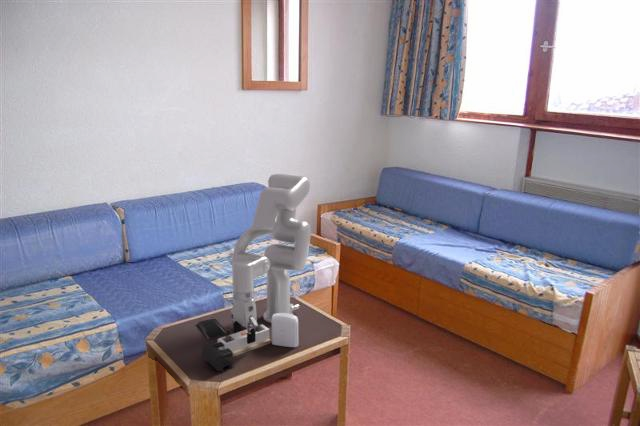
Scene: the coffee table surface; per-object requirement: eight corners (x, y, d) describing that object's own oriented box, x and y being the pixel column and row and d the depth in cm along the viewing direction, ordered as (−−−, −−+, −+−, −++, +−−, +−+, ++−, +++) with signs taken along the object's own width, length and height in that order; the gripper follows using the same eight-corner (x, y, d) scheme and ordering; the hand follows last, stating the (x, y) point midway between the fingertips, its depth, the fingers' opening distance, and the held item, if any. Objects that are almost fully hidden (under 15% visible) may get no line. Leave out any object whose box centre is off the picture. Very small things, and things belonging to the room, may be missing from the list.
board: (260, 335, 193) (260, 321, 192) (271, 342, 188) (271, 327, 187) (216, 351, 181) (216, 335, 180) (226, 359, 176) (225, 343, 175)
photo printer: (269, 345, 186) (269, 314, 183) (273, 339, 190) (273, 309, 187) (296, 349, 184) (296, 318, 181) (299, 343, 188) (300, 313, 185)
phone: (215, 318, 205) (228, 333, 193) (215, 320, 206) (228, 336, 193) (196, 322, 202) (208, 338, 189) (196, 324, 202) (208, 340, 189)
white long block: (262, 333, 192) (262, 323, 191) (269, 338, 189) (269, 327, 188) (217, 349, 180) (217, 337, 179) (224, 354, 177) (224, 343, 176)
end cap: (201, 362, 174) (200, 345, 172) (219, 356, 178) (219, 339, 177) (215, 375, 166) (214, 357, 165) (233, 368, 171) (233, 350, 169)
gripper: (265, 299, 176) (265, 343, 180) (240, 284, 188) (240, 325, 193) (247, 304, 171) (247, 350, 175) (222, 288, 184) (223, 331, 188)
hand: (244, 337), depth 184 cm, fingers open, 9 cm apart
